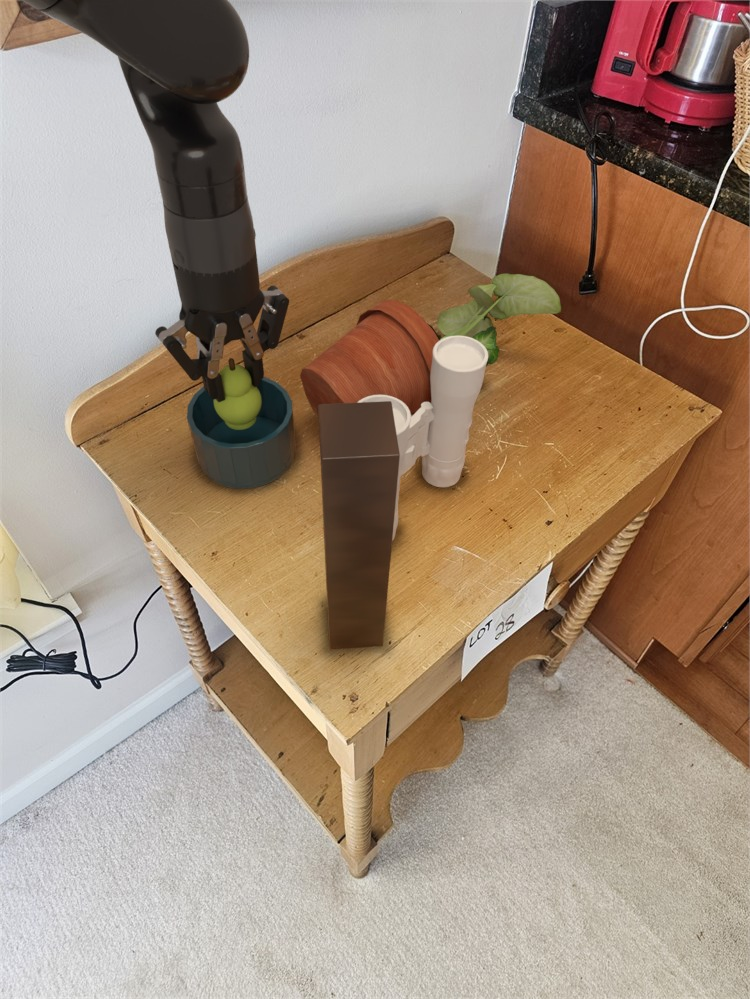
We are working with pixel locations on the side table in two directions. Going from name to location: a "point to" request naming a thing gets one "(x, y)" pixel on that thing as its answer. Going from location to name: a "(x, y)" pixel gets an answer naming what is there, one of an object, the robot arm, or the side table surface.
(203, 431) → the teal bowl
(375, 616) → the pedestal
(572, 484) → the side table surface
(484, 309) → the potted plant
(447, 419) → the binoculars
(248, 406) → the pear
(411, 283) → the side table surface
